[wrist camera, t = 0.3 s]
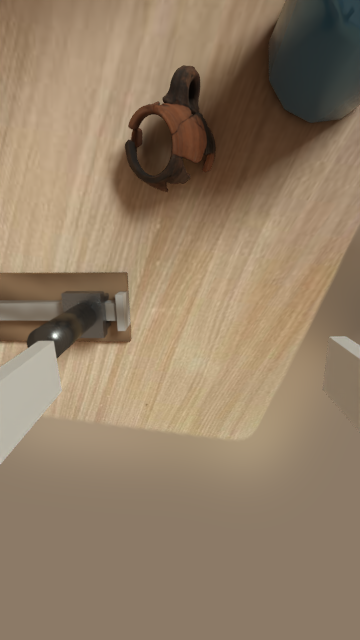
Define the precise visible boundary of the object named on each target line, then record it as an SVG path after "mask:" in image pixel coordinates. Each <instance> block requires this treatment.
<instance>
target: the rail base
mask: <svg viewBox="0 0 360 640" xmlns="http://www.w3.org/2000/svg"><path fill="white" fill-rule="evenodd" d="M66 291H104V293H108V294H109V299H108V300H107V301H106V302H105V309H106V320H107V321H111V326H110V327H109V328H108V329H107V332H108V334H107V335H106V336H105V338H78V339H77V340H76V341H108V342H130V341H131V325H130V309H129V292H128V276H127V273H0V341H27V339H28V336H29V334H30V333H31V332H32V331H33V330H35V329H36V328H38V327H40V326H41V325H43V324H45V323H46V322H48V321H50V320H51V319H53V318H55V317H56V316H58V315H60V314H61V313H63V305H62V297H61V293H63V292H66Z"/></svg>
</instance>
